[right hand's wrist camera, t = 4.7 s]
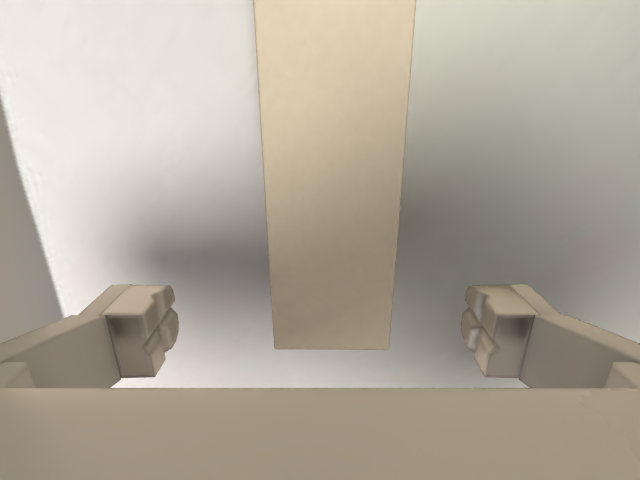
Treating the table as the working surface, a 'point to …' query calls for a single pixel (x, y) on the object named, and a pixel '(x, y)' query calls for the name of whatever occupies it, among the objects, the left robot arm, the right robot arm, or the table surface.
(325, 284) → the beam
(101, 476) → the right robot arm
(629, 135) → the table surface
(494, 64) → the table surface
